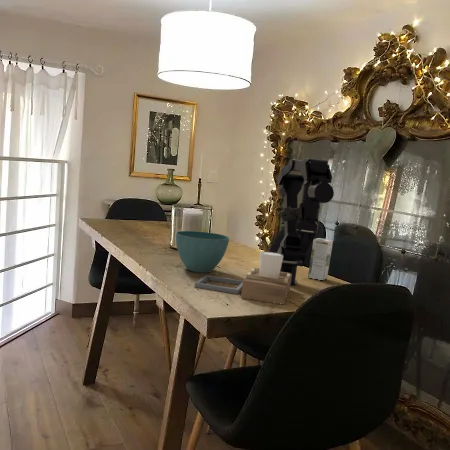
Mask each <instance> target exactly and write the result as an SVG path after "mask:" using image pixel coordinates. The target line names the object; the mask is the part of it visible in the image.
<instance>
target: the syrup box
mask: <svg viewBox="0 0 450 450" xmlns="http://www.w3.org/2000/svg"><path fill="white" fill-rule="evenodd" d="M333 243H334V241H333V240H331V239H328V238H323V237H321V238H320V237H318V238H314V239H313V241H312V249H311V255H310V260H309V268H308V273H307V279H309V278H313V279H312V280H314V279H318V280H317V281H320V280H324V281H326V280H328V277H329V270H330V262H331V256H332V250H333ZM325 279H326V280H325Z"/></svg>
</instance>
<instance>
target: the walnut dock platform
mask: <svg viewBox="0 0 450 450" xmlns="http://www.w3.org/2000/svg"><path fill="white" fill-rule="evenodd" d="M259 275H260V267H252V268H251V269H250V270H249V271H248V272H247V273H246V275H245V277H244V278H243V280H242V281H243V285H242V290H241V292H240V293H241V294H240V299H245V298H247V299H246V300H251V299H253V301H257V300H260V301H259V302H263V301H267V302H266V303H269V302H275V303H281V304H284V305H285V303H286V301H285V300H287V298H286V297H288V296H287V295H289V293H290V291H289V290H291V286H292V285H291V277H292V274H291V273H285V272H280V274H279V278H272V277H265V276H259ZM288 292H289V293H288ZM284 302H285V303H284ZM275 303H274V304H275ZM281 304H280V305H281Z"/></svg>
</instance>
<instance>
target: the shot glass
mask: <svg viewBox="0 0 450 450" xmlns="http://www.w3.org/2000/svg"><path fill="white" fill-rule="evenodd" d="M282 261H283V255H281V254H278V253H277V252H271V251H260V253H259V269H260V275H259V276H265V277H272V278H279V274H280V269H281V265H282Z"/></svg>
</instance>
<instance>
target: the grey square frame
mask: <svg viewBox="0 0 450 450" xmlns="http://www.w3.org/2000/svg"><path fill="white" fill-rule="evenodd" d="M207 281H214V282H220V283H227V284H233V285H238V286H237V287H236V288H232V287H227V286H221V285H216V284H209V283H206V282H207ZM242 285H243V280H241V279H236V278H235V279H233V278H228V277H221V276H215V275H209V274H205V275H204V276H203V277H201V278H199V279H198V280H197V281H195V283H194V287H195V288H197V289H198V288H199V289H205V290H211V291H217V292H224V293H230V294H234V295H238V294H240V293H241V292H242Z"/></svg>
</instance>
